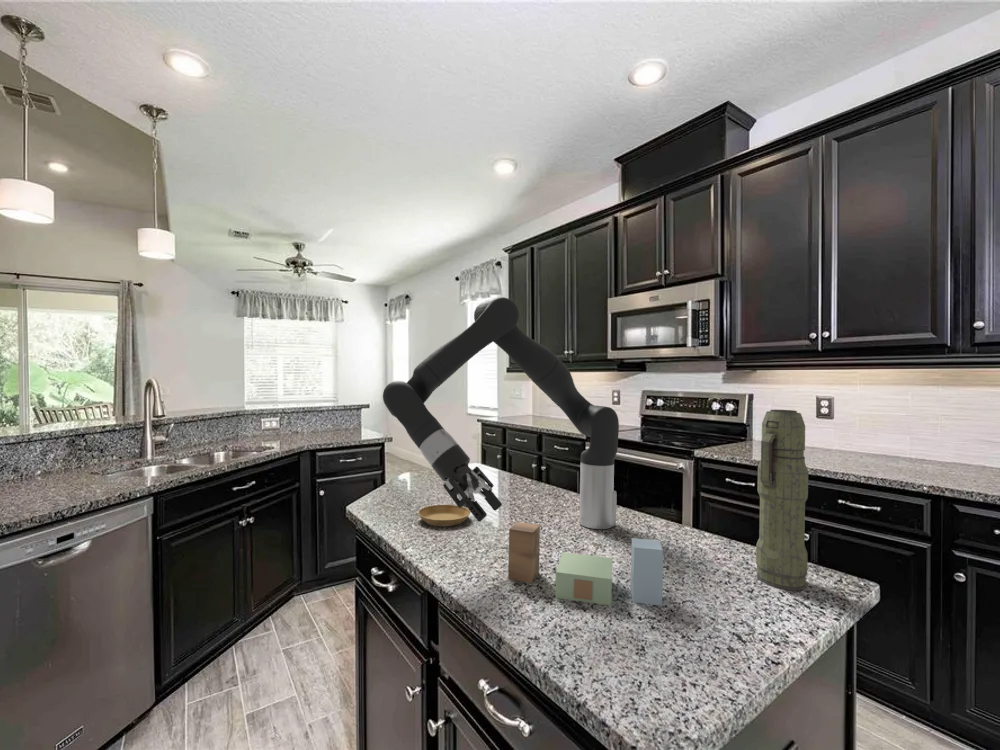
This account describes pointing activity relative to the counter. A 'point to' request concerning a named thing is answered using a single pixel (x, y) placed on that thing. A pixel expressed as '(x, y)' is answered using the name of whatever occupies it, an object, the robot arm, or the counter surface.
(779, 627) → the counter surface
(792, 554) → the thermos
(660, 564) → the slate block
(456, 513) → the plant saucer
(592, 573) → the base block
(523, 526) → the walnut block
